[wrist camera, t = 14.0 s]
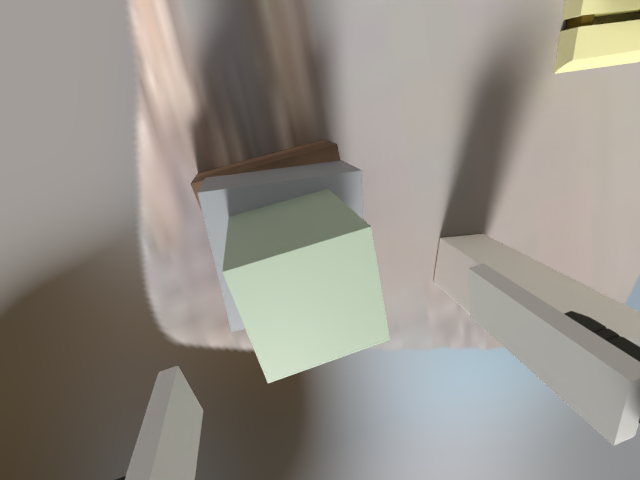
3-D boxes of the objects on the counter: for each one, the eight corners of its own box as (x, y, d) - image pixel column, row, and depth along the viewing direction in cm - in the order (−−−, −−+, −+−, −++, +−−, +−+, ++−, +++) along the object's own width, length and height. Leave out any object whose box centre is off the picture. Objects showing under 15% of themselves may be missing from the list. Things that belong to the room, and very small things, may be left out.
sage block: (228, 217, 21) (222, 272, 14) (328, 188, 22) (370, 226, 15) (259, 301, 24) (268, 383, 17) (346, 273, 25) (390, 339, 18)
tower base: (198, 172, 29) (190, 183, 25) (322, 139, 30) (336, 144, 26) (240, 281, 34) (240, 307, 29) (345, 248, 35) (361, 268, 31)
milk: (439, 237, 37) (666, 379, 17) (483, 233, 39) (743, 360, 19) (432, 282, 40) (626, 454, 20) (475, 277, 41) (698, 434, 21)
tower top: (205, 177, 25) (197, 192, 20) (341, 160, 27) (361, 170, 22) (232, 297, 29) (231, 331, 24) (347, 274, 31) (366, 303, 26)
